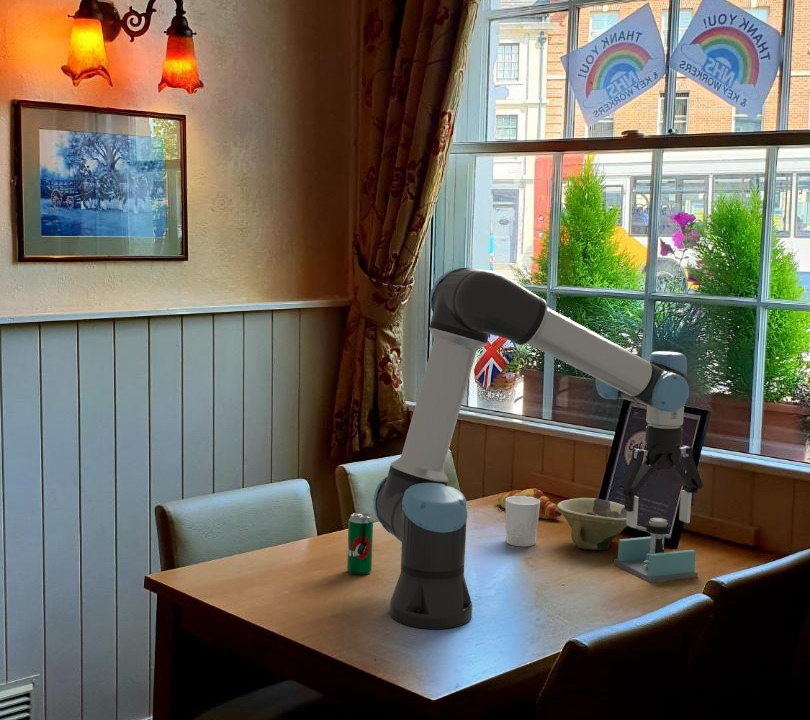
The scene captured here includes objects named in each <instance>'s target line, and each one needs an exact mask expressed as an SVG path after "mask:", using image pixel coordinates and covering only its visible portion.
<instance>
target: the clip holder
mask: <svg viewBox="0 0 810 720" xmlns="http://www.w3.org/2000/svg"><path fill="white" fill-rule="evenodd" d="M650 542H651V535H650V536H643V537H640V536H639V537H631V538H630V537H629V538H622V539H621V538H619V539H618V550H617V558H615V559H614V562H613V563H614V565H616V566H618V567H620V568H621V569H623V570H625V571H627V572H630V573H631V574H633V575H634V576H637V577H639V578H641V579H642V580H645V581H647V582H648V583H657V582H658V583H659V582H665V581H675V580H676V581H677V580H682V579H692V578H698V576H699V572H698V571H696V570H695V567H696V556H697V555H696V553H697V551H696V550H695V549H685V550H684V549H683V550H675V551H664V553H654V554H649V548H650ZM664 548H665V547H664ZM664 548H663V549H664ZM664 550H665V549H664ZM647 554H649V561H648V566H647V567H645V566H643V565H646V562H644V561H646V555H647Z"/></svg>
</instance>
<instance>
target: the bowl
mask: <svg viewBox="0 0 810 720" xmlns="http://www.w3.org/2000/svg"><path fill="white" fill-rule="evenodd" d="M556 506H557V507H558V512H559V513H561V514H562V515H561V516H562V517H564V518H565V520H566V522H567V523H568V525H569V526H570V528H571V532H570V533H571V534H570V535H571V537H570V538H571V540H572V542H573V544H574V545H575V546H576V547H578V548H579V549H587V550H591V551H597V552H598V551H607V550H608V549H609V548H610V547H611V542H612V541H614V540H615V538H617V537H618V536H619V535H620V534H621V533H622V532H623V531H624V529H625V528H626V527H628V525H626V520H627V511H626V510H625V504H621V503H618V502H615V501H610V500H605V499H600V498H594V497H593V498H592V497H579V498H570V499H565V500H562V501H560V502H558V503H557V504H556ZM638 516H639V515H637V519H638Z"/></svg>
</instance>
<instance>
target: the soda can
mask: <svg viewBox="0 0 810 720" xmlns="http://www.w3.org/2000/svg"><path fill="white" fill-rule="evenodd" d="M349 516H350V517H349V519H348V520H347V521H348V523H347V524H348V526H347V529H348V530H347V559H346V562H347V564H346V565H347V566H346V569H347V571H348V573H349V574H352V575H353V576H354V575H355V576H363V575H364V576H365V575H368V574H370V573H371V571H372V570H373V569H372V566H373V538H374V537H373V534H374V520H373V518H372V515H371V514H370V513H367V512H354V513H352V514H350V515H349Z"/></svg>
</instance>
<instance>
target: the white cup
mask: <svg viewBox="0 0 810 720" xmlns="http://www.w3.org/2000/svg"><path fill="white" fill-rule="evenodd" d="M539 508H540V500H538V499H536V498H533V497H527V496H511V497H508V498H506V509H505V531H506V532H505V541H506V543H507V544H509V545H511V546H514V547H523V548H525V547H531V546H535V544H536V541H537V532H538V525H539V519H540V518H539Z"/></svg>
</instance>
